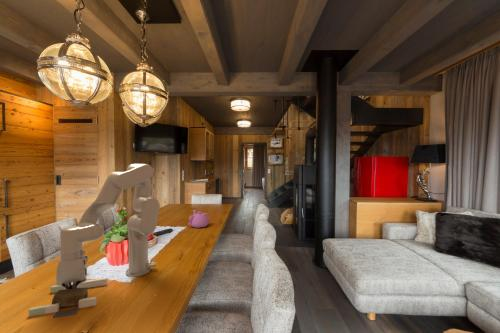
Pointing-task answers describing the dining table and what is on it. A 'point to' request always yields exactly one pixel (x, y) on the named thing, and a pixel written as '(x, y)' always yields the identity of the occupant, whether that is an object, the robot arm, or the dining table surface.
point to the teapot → (199, 219)
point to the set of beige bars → (55, 289)
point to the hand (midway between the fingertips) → (72, 296)
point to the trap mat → (66, 313)
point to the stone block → (70, 297)
